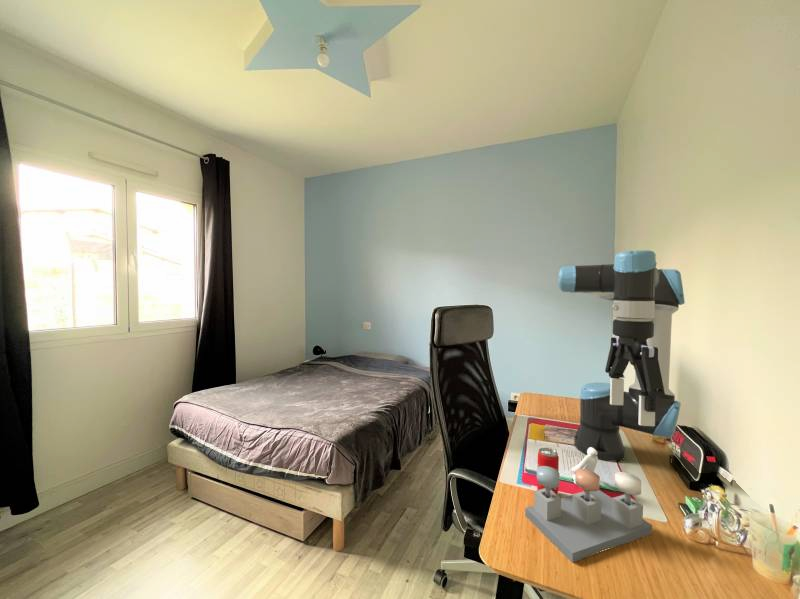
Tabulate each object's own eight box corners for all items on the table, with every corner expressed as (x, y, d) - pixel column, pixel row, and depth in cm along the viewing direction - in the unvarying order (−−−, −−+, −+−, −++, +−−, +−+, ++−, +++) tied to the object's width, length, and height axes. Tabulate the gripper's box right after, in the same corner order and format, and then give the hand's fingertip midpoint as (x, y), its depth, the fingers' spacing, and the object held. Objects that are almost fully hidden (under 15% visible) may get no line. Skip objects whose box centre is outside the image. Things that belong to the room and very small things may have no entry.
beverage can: (560, 502, 82) (561, 458, 82) (539, 499, 83) (540, 456, 83) (554, 489, 88) (555, 448, 87) (535, 487, 89) (535, 446, 88)
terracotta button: (585, 494, 78) (586, 467, 77) (604, 507, 73) (604, 478, 73) (570, 498, 76) (570, 471, 76) (588, 512, 71) (588, 483, 71)
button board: (596, 495, 85) (597, 472, 85) (652, 533, 72) (652, 506, 72) (525, 515, 78) (525, 490, 77) (572, 562, 64) (573, 532, 64)
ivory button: (624, 497, 76) (625, 470, 76) (645, 511, 72) (646, 482, 71) (609, 502, 75) (610, 474, 75) (630, 516, 70) (631, 486, 70)
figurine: (585, 495, 85) (586, 452, 85) (562, 478, 93) (563, 439, 92) (606, 489, 88) (607, 448, 87) (581, 473, 95) (582, 435, 95)
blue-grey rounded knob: (547, 490, 79) (548, 464, 79) (563, 503, 74) (564, 475, 74) (531, 495, 77) (532, 468, 77) (547, 508, 73) (547, 479, 72)
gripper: (591, 314, 83) (589, 395, 83) (647, 325, 59) (644, 437, 60) (622, 315, 82) (620, 397, 82) (691, 325, 58) (687, 439, 59)
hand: (630, 414), depth 71 cm, fingers open, 11 cm apart
